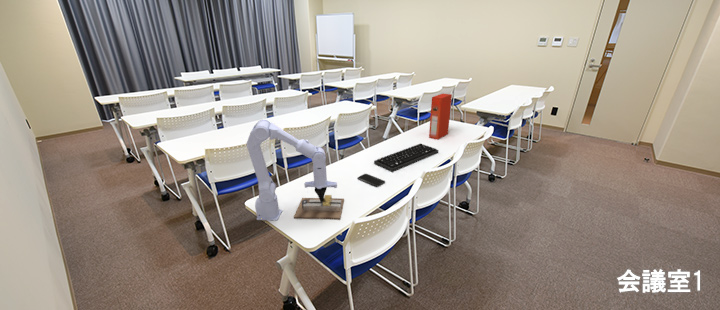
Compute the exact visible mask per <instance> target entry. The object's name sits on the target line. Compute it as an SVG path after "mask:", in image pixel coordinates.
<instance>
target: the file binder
mask: <svg viewBox="0 0 720 310" xmlns="http://www.w3.org/2000/svg"><path fill="white" fill-rule="evenodd" d="M452 95H453V94H452V93H451V94H450V93H441V94H438V95H435V96H432V97H431V103H430V105H431V106H430V107H431V108H430V117H429V118H430V119H429V120H430V121H429V132H428V133H429V134H428V138H429V139H433V140H440V139H442V138H444V137H446V136H447V135H448V134H449V129H450V128H449V127H450V118H451V117H450V115H451V107H452V98H453V96H452Z"/></svg>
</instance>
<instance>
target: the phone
mask: <svg viewBox="0 0 720 310" xmlns="http://www.w3.org/2000/svg"><path fill="white" fill-rule="evenodd" d="M357 180H358V181H361V182H363V183H365V184H367V185H369V186H372V187H374V188H379V187H381V186H383V185H384V184H386V180H383V179H381V178H379V177H377V176H374V175H371V174H370V173H369V174H368V173H363V174H361V175H360V176H358V177H357Z"/></svg>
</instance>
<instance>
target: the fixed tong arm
mask: <svg viewBox="0 0 720 310" xmlns="http://www.w3.org/2000/svg"><path fill="white" fill-rule="evenodd" d="M301 200H302V199H301ZM302 208H303V209H304V211H323V212H340V211H341V204H330V206H323V204H319V203H308V200H302Z"/></svg>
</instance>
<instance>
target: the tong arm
mask: <svg viewBox="0 0 720 310" xmlns="http://www.w3.org/2000/svg"><path fill="white" fill-rule="evenodd" d="M309 203H319V204H323V202H320V200H311V199H310V200H309ZM330 204H341V200H331V202H330ZM341 206H342V205H341Z"/></svg>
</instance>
